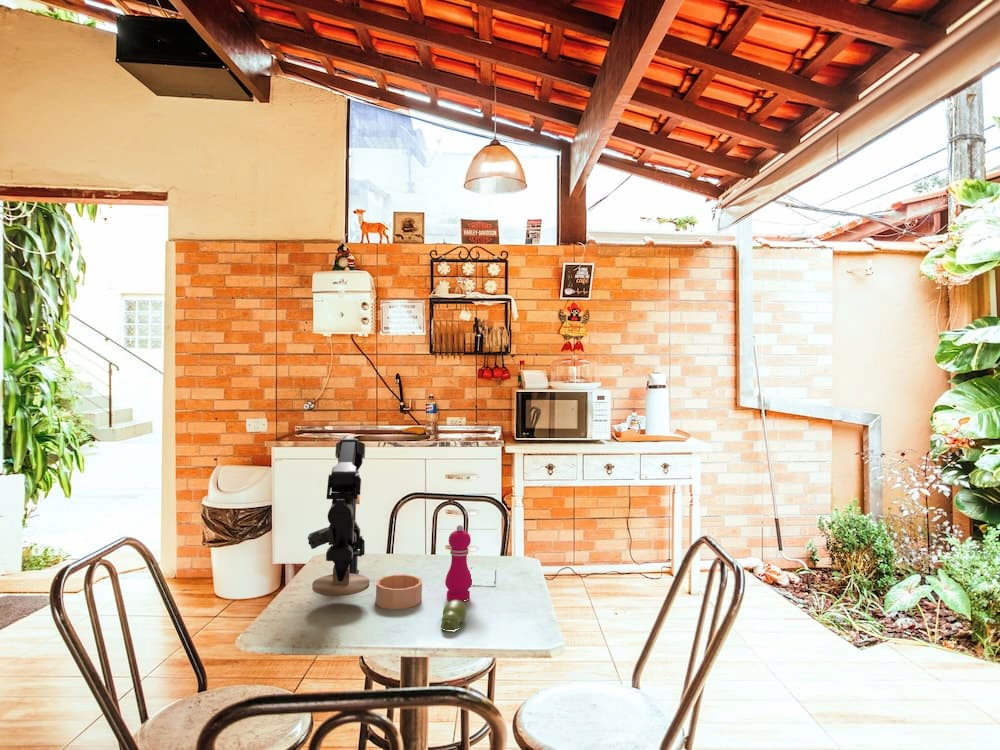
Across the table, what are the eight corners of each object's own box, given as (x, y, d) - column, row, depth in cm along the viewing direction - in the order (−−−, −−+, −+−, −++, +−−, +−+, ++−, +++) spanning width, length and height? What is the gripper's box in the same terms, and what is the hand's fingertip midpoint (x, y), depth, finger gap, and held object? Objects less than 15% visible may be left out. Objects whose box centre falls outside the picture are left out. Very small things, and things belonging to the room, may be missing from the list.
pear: (469, 596, 150) (459, 618, 141) (469, 616, 151) (459, 639, 142) (447, 594, 151) (436, 616, 142) (447, 614, 152) (436, 637, 143)
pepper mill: (439, 599, 163) (441, 525, 163) (453, 591, 169) (455, 520, 169) (462, 605, 159) (464, 529, 160) (476, 596, 166) (478, 523, 166)
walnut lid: (315, 578, 163) (315, 559, 163) (369, 576, 165) (370, 557, 165) (308, 597, 148) (309, 577, 148) (368, 594, 151) (369, 574, 151)
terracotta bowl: (376, 593, 166) (377, 575, 166) (420, 591, 168) (420, 573, 168) (375, 610, 155) (375, 590, 155) (422, 608, 157) (422, 588, 157)
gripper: (315, 510, 165) (313, 567, 165) (305, 527, 146) (303, 592, 146) (356, 510, 167) (355, 566, 167) (352, 526, 148) (350, 590, 148)
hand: (341, 578), depth 157 cm, fingers closed on walnut lid, 4 cm apart
